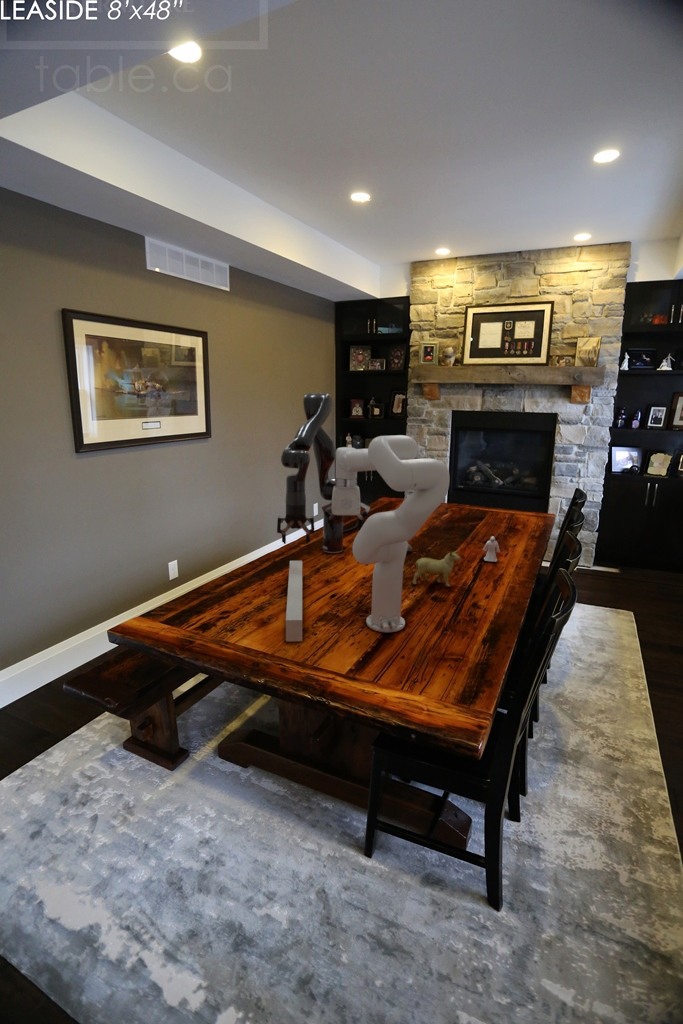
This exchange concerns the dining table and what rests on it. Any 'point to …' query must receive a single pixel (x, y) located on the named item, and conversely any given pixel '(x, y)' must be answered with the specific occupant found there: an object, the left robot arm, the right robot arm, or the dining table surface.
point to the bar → (294, 603)
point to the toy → (436, 567)
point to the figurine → (491, 550)
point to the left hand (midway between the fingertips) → (295, 543)
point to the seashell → (409, 547)
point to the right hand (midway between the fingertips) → (345, 529)
